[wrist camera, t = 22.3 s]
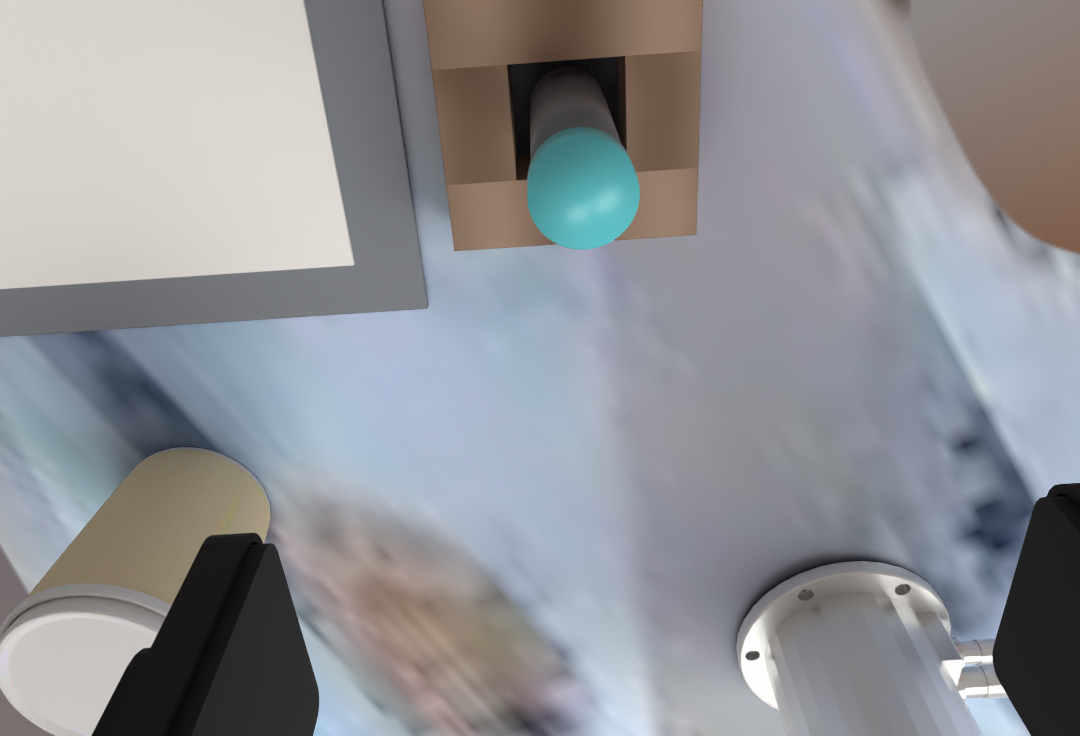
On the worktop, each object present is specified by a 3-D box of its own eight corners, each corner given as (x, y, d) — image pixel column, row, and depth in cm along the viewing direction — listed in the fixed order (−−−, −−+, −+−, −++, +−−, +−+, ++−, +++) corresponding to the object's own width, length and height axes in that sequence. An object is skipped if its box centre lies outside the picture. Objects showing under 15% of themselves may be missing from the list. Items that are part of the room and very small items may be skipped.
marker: (602, 54, 34) (639, 136, 23) (604, 132, 36) (640, 245, 24) (524, 60, 34) (522, 144, 23) (530, 138, 36) (531, 253, 25)
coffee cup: (149, 575, 48) (43, 765, 38) (82, 443, 43) (-58, 618, 33) (307, 558, 48) (244, 745, 37) (257, 422, 43) (170, 593, 33)
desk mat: (362, -137, 31) (361, -137, 30) (428, 304, 40) (427, 308, 39) (-273, -87, 31) (-282, -87, 31) (-67, 337, 40) (-72, 341, 40)
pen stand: (687, -41, 32) (703, -34, 29) (682, 206, 37) (696, 234, 34) (431, -22, 33) (421, -13, 30) (460, 221, 38) (454, 251, 35)
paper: (293, -54, 32) (292, -54, 32) (354, 263, 38) (354, 265, 38) (-170, -19, 32) (-174, -18, 32) (-32, 289, 39) (-35, 291, 38)
